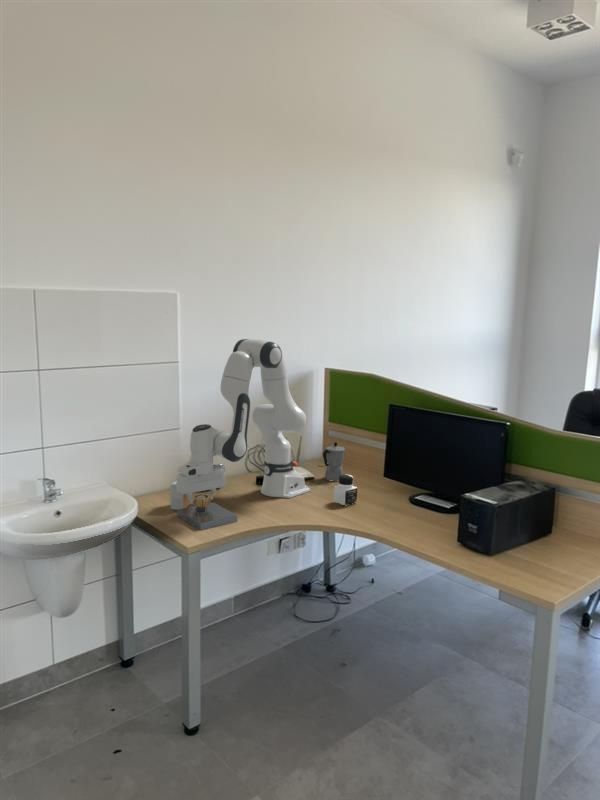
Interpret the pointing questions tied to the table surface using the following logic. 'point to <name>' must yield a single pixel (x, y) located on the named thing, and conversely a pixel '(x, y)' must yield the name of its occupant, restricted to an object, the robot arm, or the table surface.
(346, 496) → the medicine bottle
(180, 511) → the block
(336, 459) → the coffeepot
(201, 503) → the ring
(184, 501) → the small box
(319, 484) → the table surface
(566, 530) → the table surface
